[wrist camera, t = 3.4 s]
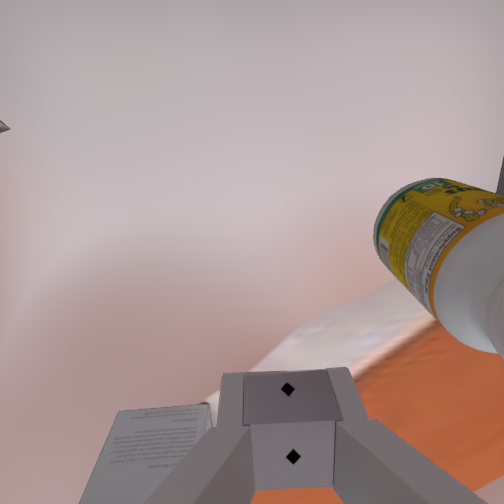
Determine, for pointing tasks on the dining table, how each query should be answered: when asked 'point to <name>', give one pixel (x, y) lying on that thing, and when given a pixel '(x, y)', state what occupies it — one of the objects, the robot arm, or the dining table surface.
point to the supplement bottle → (449, 255)
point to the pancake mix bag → (3, 127)
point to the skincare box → (144, 452)
